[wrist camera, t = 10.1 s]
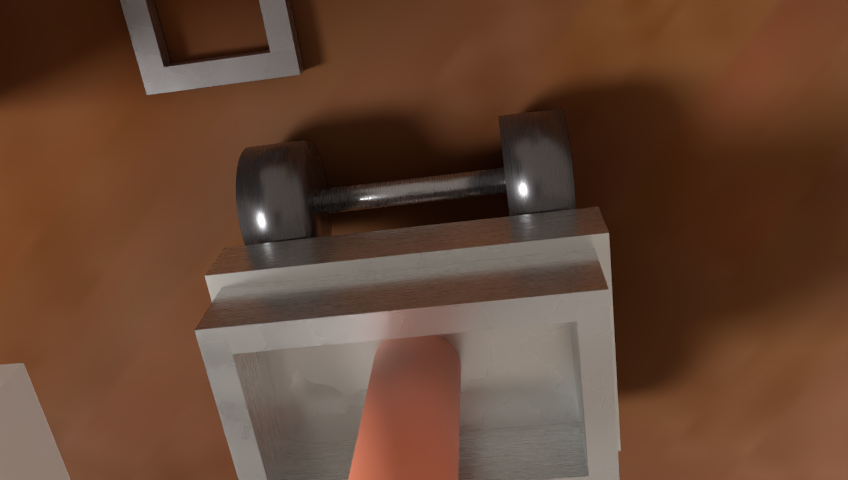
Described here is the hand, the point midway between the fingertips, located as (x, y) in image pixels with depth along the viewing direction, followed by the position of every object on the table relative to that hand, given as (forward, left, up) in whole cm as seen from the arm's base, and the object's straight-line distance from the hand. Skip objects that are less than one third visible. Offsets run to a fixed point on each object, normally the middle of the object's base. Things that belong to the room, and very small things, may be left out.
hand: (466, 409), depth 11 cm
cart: (-3, -9, -22) cm, 24 cm away
